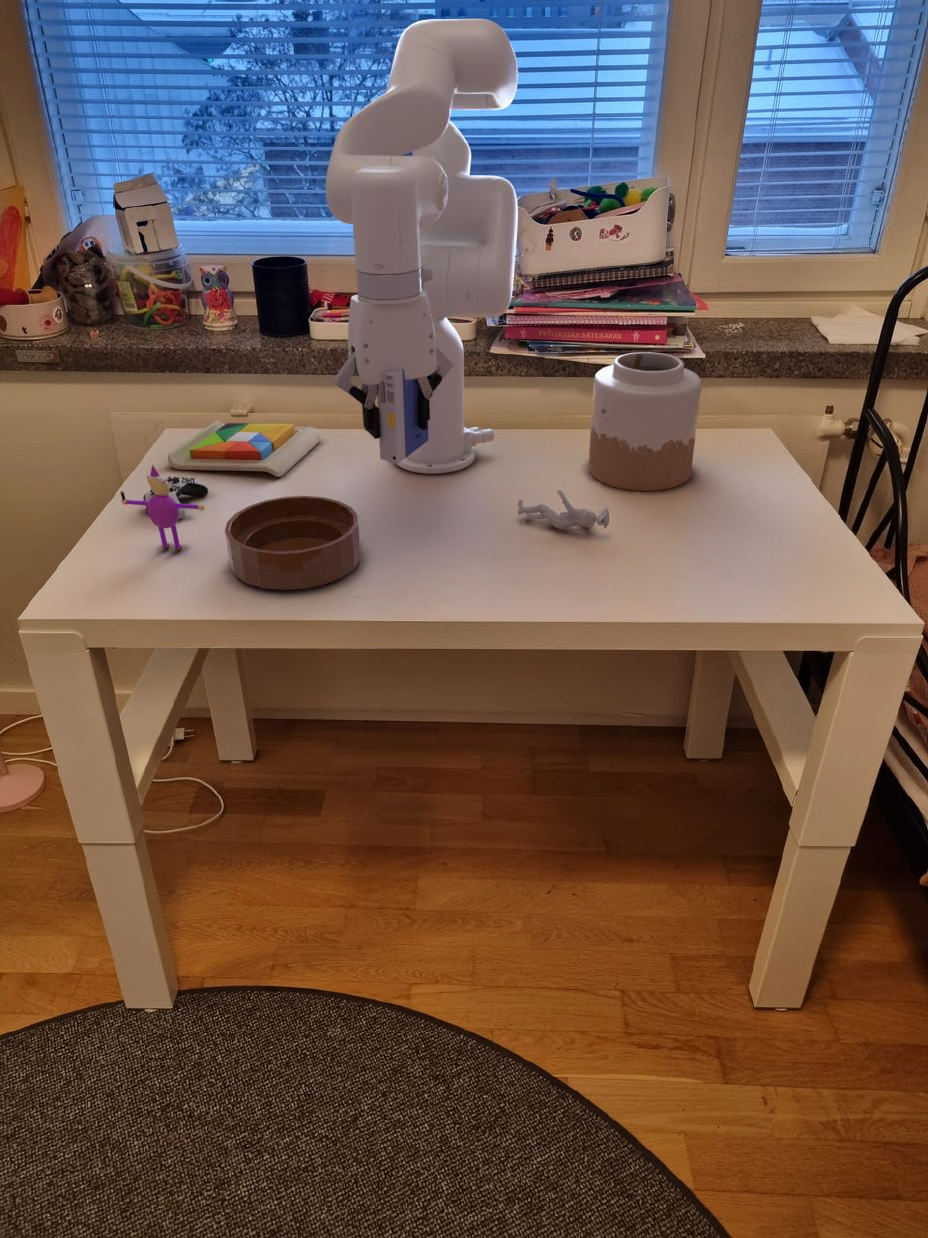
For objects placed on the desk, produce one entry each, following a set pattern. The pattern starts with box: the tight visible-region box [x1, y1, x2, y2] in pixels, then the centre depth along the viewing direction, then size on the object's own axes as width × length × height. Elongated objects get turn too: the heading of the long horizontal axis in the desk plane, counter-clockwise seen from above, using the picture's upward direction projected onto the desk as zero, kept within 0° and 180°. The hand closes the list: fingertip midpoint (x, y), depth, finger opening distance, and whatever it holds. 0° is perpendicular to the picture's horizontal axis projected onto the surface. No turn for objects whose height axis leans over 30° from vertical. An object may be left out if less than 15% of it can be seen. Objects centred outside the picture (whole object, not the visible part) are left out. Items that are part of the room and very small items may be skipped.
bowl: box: [224, 495, 362, 591], centre depth 121 cm, size 16×16×6 cm
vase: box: [588, 351, 702, 492], centre depth 142 cm, size 15×15×17 cm
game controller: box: [142, 477, 209, 520], centre depth 137 cm, size 10×5×6 cm
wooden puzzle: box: [167, 420, 322, 478], centre depth 153 cm, size 18×19×4 cm
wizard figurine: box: [119, 464, 205, 552], centre depth 122 cm, size 11×3×12 cm, turn 79°
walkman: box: [376, 369, 429, 465], centre depth 121 cm, size 8×3×12 cm, turn 151°
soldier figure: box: [517, 489, 610, 531], centre depth 129 cm, size 8×5×12 cm
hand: (397, 429), depth 122 cm, fingers closed on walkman, 5 cm apart
